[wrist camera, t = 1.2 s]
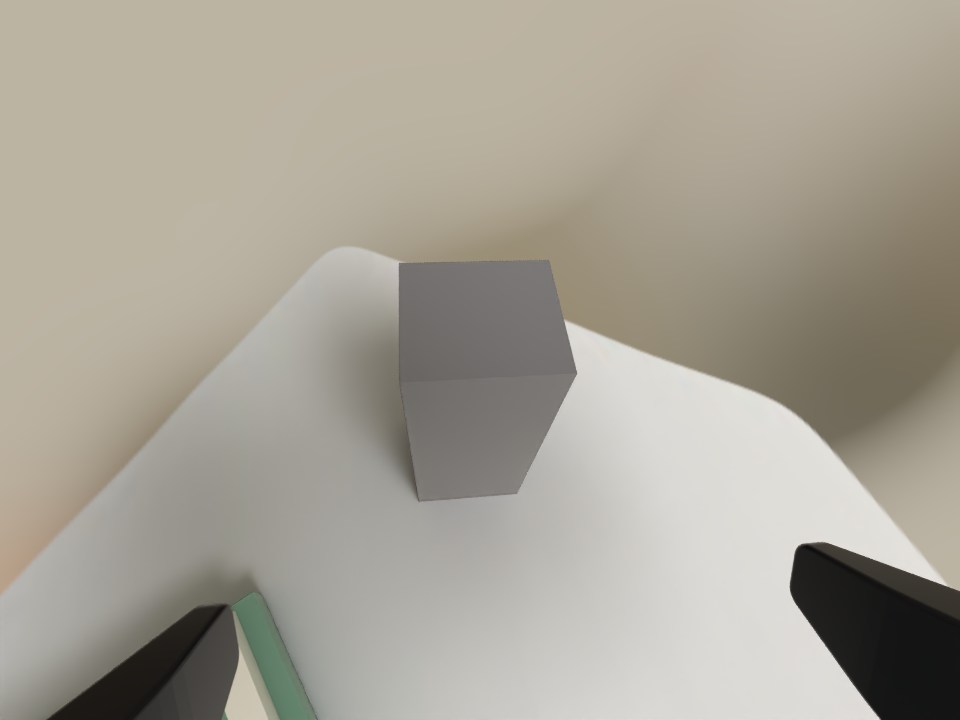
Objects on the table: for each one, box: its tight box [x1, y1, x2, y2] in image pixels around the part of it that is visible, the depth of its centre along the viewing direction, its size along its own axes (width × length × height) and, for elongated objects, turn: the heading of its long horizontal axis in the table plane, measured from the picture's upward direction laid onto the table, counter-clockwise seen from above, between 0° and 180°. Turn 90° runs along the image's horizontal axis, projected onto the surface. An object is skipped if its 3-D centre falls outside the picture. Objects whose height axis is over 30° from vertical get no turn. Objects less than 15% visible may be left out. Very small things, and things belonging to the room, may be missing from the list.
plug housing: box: [399, 260, 577, 502], centre depth 17 cm, size 4×4×11 cm
